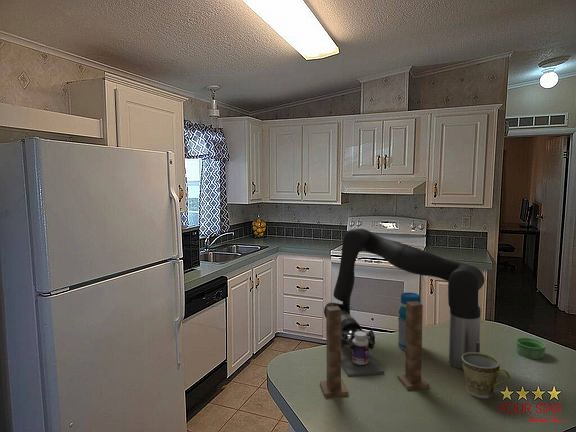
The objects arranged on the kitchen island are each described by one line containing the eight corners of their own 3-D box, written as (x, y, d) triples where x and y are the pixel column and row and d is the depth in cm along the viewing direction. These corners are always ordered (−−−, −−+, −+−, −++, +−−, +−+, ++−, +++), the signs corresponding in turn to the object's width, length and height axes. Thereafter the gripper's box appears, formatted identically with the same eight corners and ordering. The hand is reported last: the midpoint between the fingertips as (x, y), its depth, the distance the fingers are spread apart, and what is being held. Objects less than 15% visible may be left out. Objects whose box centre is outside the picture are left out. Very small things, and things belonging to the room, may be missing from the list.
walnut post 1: (342, 383, 120) (341, 303, 117) (348, 395, 113) (348, 311, 111) (319, 385, 119) (319, 305, 117) (325, 397, 112) (324, 313, 110)
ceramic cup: (454, 391, 115) (454, 358, 114) (471, 380, 121) (472, 349, 120) (499, 411, 104) (501, 376, 103) (516, 398, 110) (517, 364, 109)
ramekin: (539, 363, 131) (540, 350, 131) (511, 353, 138) (511, 342, 138) (549, 355, 137) (550, 343, 136) (521, 346, 144) (521, 335, 143)
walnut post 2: (418, 376, 123) (420, 299, 121) (429, 388, 116) (431, 306, 114) (397, 378, 122) (398, 300, 120) (407, 390, 115) (408, 307, 113)
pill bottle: (368, 365, 127) (368, 337, 126) (351, 364, 128) (351, 336, 127) (368, 358, 133) (368, 330, 131) (352, 356, 134) (352, 329, 133)
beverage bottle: (398, 351, 141) (399, 297, 139) (397, 341, 149) (397, 290, 147) (423, 353, 139) (424, 298, 137) (420, 343, 147) (421, 292, 145)
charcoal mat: (371, 356, 137) (371, 354, 137) (384, 373, 125) (384, 371, 125) (338, 359, 136) (338, 357, 136) (348, 376, 124) (348, 374, 124)
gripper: (329, 318, 143) (341, 338, 126) (367, 316, 144) (384, 335, 128) (329, 338, 143) (341, 360, 127) (367, 335, 145) (384, 356, 129)
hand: (363, 347), depth 127 cm, fingers closed on pill bottle, 5 cm apart
